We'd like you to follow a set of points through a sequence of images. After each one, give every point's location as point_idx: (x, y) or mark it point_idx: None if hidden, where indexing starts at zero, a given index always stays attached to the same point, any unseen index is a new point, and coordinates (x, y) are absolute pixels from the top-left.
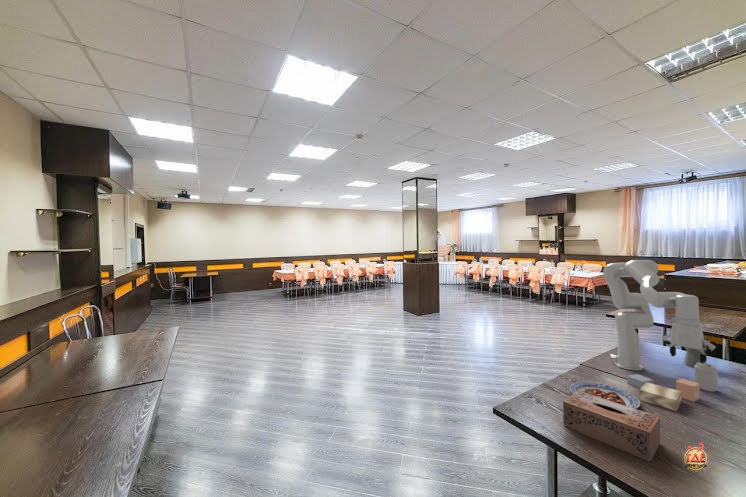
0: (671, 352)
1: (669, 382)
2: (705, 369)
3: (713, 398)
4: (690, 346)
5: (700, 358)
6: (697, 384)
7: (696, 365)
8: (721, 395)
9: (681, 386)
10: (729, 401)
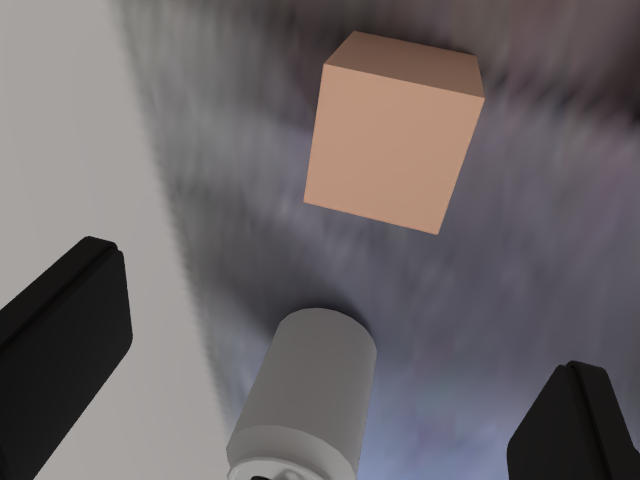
0: (623, 441)
1: (512, 321)
2: (279, 431)
3: (274, 213)
4: None
5: (56, 302)
6: (310, 161)
7: (338, 474)
8: (255, 292)
9: (433, 74)
10: (209, 226)
